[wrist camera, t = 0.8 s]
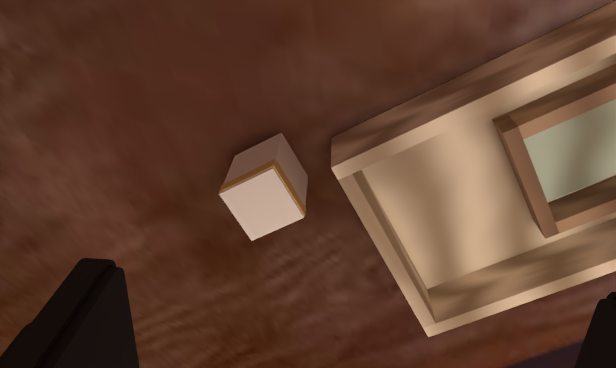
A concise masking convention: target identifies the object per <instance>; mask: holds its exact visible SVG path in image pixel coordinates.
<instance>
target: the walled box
mask: <svg viewBox="0 0 616 368" xmlns="http://www.w3.org/2000/svg"><path fill="white" fill-rule="evenodd" d="M331 169H332V171H333V172H334V174H335V176H336V178H337V179H338V181H339V183H340V184H341V186H342V188H343V190H344V191H345V193H346V195H347V197H348V198H349V200H350V202H351V204H352V205H353V207H354V209H355V211H356V212H357V214H358V216H359V217H360V219H361V221H362V223H363V224H364V226H365V228H366V230H367V231H368V233H369V235H370V237H371V238H372V240H373V242H374V244H375V245H376V247H377V249H378V250H379V252H380V254H381V256H382V257H383V259H384V261H385V263H386V264H387V266H388V268H389V270H390V271H391V273H392V275H393V277H394V278H395V280H396V282H397V284H398V285H399V287H400V289H401V290H402V292H403V294H404V296H405V297H406V299H407V301H408V303H409V304H410V306H411V308H412V310H413V311H414V313H415V315H416V317H417V318H418V320H419V322H420V323H421V325H422V327H423V329H424V330H425V332H426V334H427V336H428V337H430V336H433V335H436V334H439V333H442V332H445V331H447V330H450V329H453V328H456V327H459V326H462V325H464V324H467V323H470V322H473V321H476V320H479V319H481V318H484V317H487V316H490V315H493V314H495V313H498V312H501V311H504V310H507V309H510V308H512V307H515V306H518V305H521V304H524V303H527V302H529V301H532V300H535V299H538V298H541V297H544V296H546V295H549V294H552V293H555V292H558V291H560V290H563V289H566V288H569V287H572V286H575V285H577V284H580V283H583V282H586V281H589V280H592V279H594V278H597V277H600V276H603V275H606V274H609V273H611V272H614V271H616V1H613V2H611V3H609V4H607V5H605V6H603V7H601V8H599V9H597V10H595V11H593V12H591V13H589V14H587V15H584V16H582V17H580V18H578V19H576V20H574V21H572V22H570V23H568V24H566V25H564V26H562V27H560V28H557V29H555V30H553V31H551V32H549V33H547V34H545V35H543V36H541V37H539V38H537V39H535V40H533V41H531V42H528V43H526V44H524V45H522V46H520V47H518V48H516V49H514V50H512V51H510V52H508V53H506V54H504V55H502V56H499V57H497V58H495V59H493V60H491V61H489V62H487V63H485V64H483V65H481V66H479V67H477V68H475V69H473V70H470V71H468V72H466V73H464V74H462V75H460V76H458V77H456V78H454V79H452V80H450V81H448V82H446V83H444V84H441V85H439V86H437V87H435V88H433V89H431V90H429V91H427V92H425V93H423V94H421V95H419V96H417V97H415V98H412V99H410V100H408V101H406V102H404V103H402V104H400V105H398V106H396V107H394V108H392V109H390V110H388V111H386V112H383V113H381V114H379V115H377V116H375V117H373V118H371V119H369V120H367V121H365V122H363V123H361V124H359V125H356V126H354V127H352V128H350V129H348V130H346V131H344V132H342V133H340V134H338V135H336V136H334V137H332V138H331Z"/></svg>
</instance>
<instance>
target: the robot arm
mask: <svg viewBox="0 0 616 368" xmlns="http://www.w3.org/2000/svg"><path fill="white" fill-rule="evenodd" d="M0 368H139V361H138V355H137V349H136V343H135V336H134V330H133V324H132V318H131V311H130V305H129V299H128V293H127V286H126V280H125V274H124V270H123V269H122V268H119V267H116V264H115V262H114V261H113V260H108V259H92V258H83V259H81V260H80V261H79V262H78V263H77V265H76V266H75V267H74V269H73V270H72V271H71V272H70V274H69V275H68V276H67V278H66V279H65V280H64V281H63V283H62V284H61V285H60V287H59V288H58V289H57V290H56V292H55V293H54V294H53V296H52V297H51V298H50V300H49V301H48V302H47V303H46V305H45V306H44V307H43V309H42V310H41V311H40V312H39V314H38V315H37V316H36V318H35V319H34V320H33V321H32V323H30V324H27V325H26V326H25V327H24V328H23V329H22V330H21V331H20V333H19V334H18V335H17V337H16V338H15V339H14V340H13V342H12V343H11V344H10V345H9V347H8V348H7V349H6V351H5V352H4V353H3V354H2V356H1V357H0ZM574 368H616V292H612V293H610V294H609V295H608V296H607V298H606V299H601V300H600V301H599V302H598V304H597V306H596V309H595V312H594V314H593V317H592V320H591V323H590V325H589V328H588V331H587V334H586V336H585V339H584V342H583V345H582V348H581V350H580V353H579V356H578V359H577V361H576V364H575V367H574Z"/></svg>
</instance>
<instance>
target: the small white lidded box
mask: <svg viewBox="0 0 616 368" xmlns="http://www.w3.org/2000/svg"><path fill="white" fill-rule="evenodd" d="M307 182H308V176H307V174H306V172H305V171H304V169H303V167H302V166H301V164H300V162H299V161H298V159H297V157H296V156H295V154H294V152H293V151H292V149H291V147H290V146H289V144H288V142H287V141H286V139H285V137H284V136H283V134H282V132H281V133H279V134H277V135H275V136H273V137H271V138H269V139H267V140H265V141H263V142H261V143H259V144H257V145H255V146H253V147H251V148H249V149H247V150H245V151H243V152H241V153H239V154H237V155H235V157H234V159H233V162H232V164H231V167H230V169H229V172H228V174H227V176H226V179H225V181H224V184H222V186H221V188H220V191H219V192H220V194H219V195H220V196H221V198H222V199H223V200H224V202H225V203H226V205H227V206H228V208H229V209H230V211H231V212H232V213H233V215H234V216H235V218H236V219H237V221H238V222H239V223H240V225H241V226H242V228H243V229H244V231H245V232H246V234H247V235H248V236H249V238H250V239H251V241H253V240H255V239H257V238H260V237H262V236H264V235H266V234H268V233H271V232H273V231H275V230H277V229H280V228H282V227H284V226H286V225H289V224H291V223H293V222H295V221H298V220H300V219H302V218H304V216H305V213H306V207H305V202H306V192H307Z"/></svg>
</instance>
